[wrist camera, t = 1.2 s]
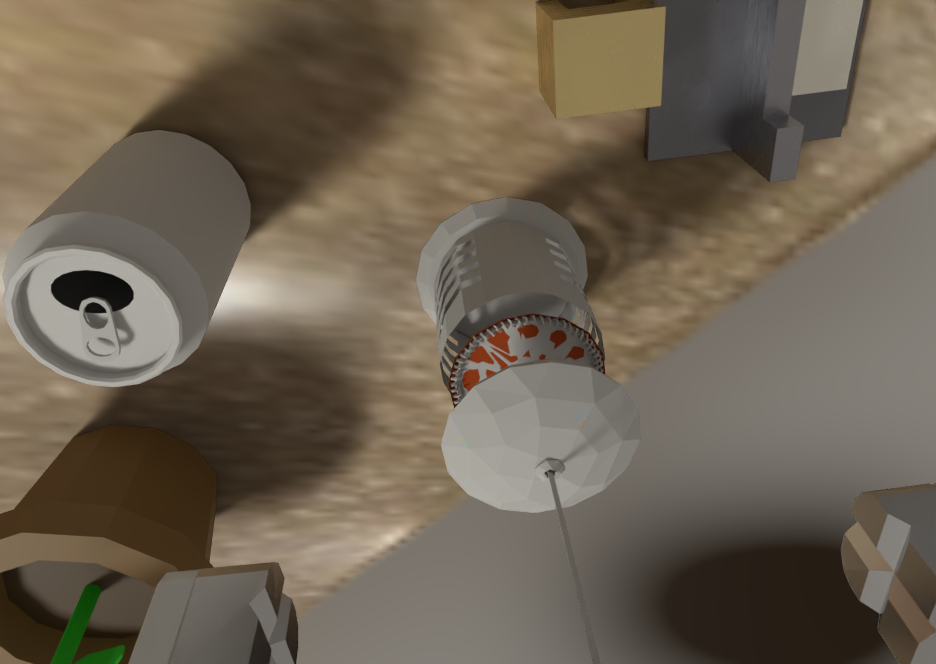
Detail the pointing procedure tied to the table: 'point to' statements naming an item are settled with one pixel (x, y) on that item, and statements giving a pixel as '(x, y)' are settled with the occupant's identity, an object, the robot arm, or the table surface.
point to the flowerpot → (100, 544)
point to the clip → (600, 56)
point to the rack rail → (753, 79)
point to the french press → (524, 364)
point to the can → (128, 261)
